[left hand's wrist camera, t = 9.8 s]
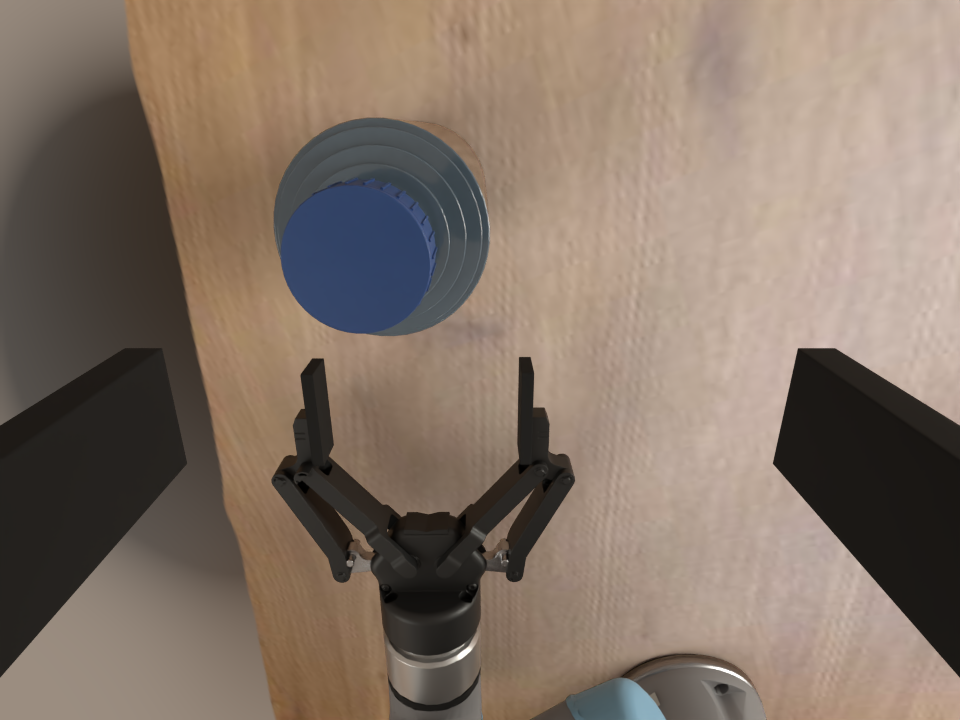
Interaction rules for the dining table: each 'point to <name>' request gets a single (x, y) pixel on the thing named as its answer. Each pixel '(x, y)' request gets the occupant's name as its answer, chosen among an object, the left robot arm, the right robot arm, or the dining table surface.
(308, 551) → the dining table surface
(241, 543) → the dining table surface
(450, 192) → the bottle
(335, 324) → the cap
